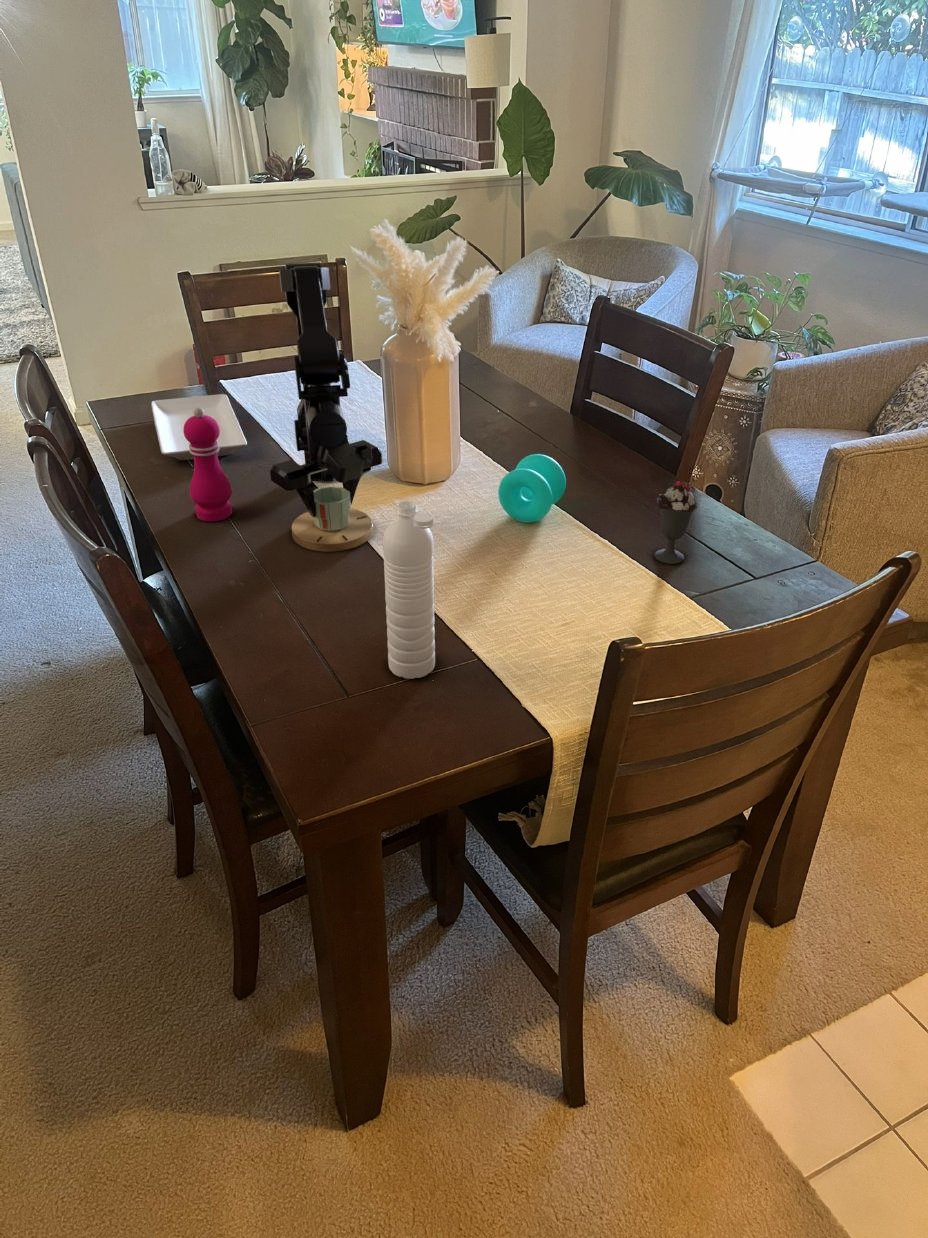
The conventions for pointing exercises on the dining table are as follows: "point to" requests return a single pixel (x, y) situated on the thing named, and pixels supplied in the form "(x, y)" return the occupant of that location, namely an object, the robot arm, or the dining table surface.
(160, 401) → the tray
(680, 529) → the sundae
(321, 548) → the turntable
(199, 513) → the pepper mill
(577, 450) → the dining table surface
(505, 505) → the teal yo-yo
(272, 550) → the dining table surface
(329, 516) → the green cup
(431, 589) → the water bottle
